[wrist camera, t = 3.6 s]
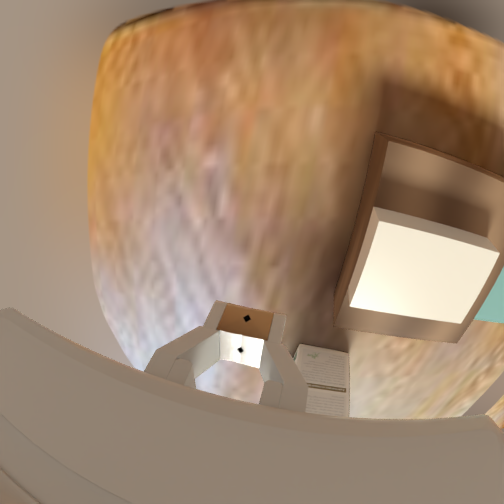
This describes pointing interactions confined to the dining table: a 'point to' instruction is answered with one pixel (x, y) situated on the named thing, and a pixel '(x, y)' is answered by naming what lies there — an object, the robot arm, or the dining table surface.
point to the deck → (426, 207)
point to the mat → (493, 303)
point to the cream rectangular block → (419, 268)
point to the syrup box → (325, 379)
